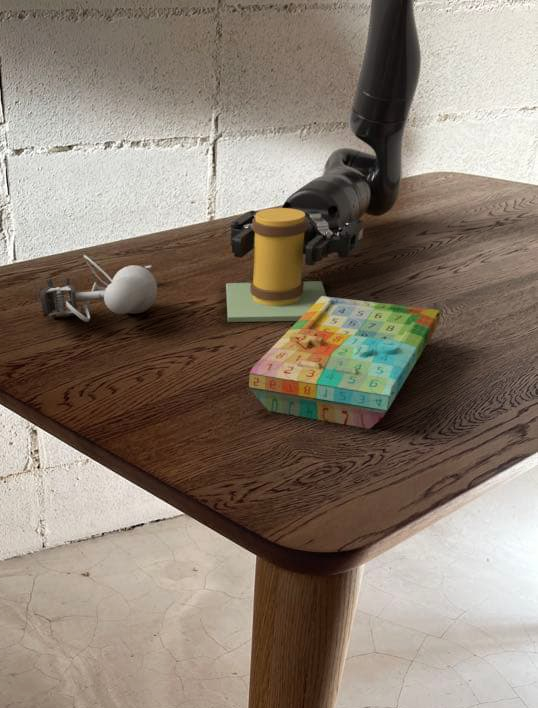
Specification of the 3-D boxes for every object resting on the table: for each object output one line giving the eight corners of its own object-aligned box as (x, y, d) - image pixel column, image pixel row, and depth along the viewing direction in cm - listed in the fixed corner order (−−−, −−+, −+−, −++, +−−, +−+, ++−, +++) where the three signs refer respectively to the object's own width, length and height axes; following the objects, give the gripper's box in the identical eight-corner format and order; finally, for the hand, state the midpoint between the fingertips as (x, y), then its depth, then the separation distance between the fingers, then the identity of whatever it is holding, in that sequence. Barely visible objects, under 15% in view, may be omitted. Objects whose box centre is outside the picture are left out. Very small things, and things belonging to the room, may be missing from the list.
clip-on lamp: (78, 309, 107) (34, 331, 91) (71, 254, 105) (25, 267, 88) (172, 301, 104) (145, 322, 88) (168, 245, 102) (138, 257, 86)
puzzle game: (249, 363, 72) (321, 287, 87) (247, 414, 75) (318, 332, 90) (390, 385, 68) (442, 301, 82) (383, 438, 70) (435, 348, 85)
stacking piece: (312, 295, 97) (318, 211, 92) (283, 310, 93) (288, 224, 88) (269, 285, 100) (272, 204, 95) (239, 300, 97) (241, 216, 92)
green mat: (321, 286, 101) (321, 280, 101) (332, 320, 92) (332, 315, 92) (226, 288, 102) (226, 283, 102) (227, 322, 93) (227, 317, 93)
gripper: (266, 175, 104) (210, 210, 93) (385, 183, 99) (342, 221, 87) (263, 239, 109) (210, 279, 97) (377, 250, 103) (335, 295, 91)
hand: (272, 252), depth 92 cm, fingers open, 7 cm apart
